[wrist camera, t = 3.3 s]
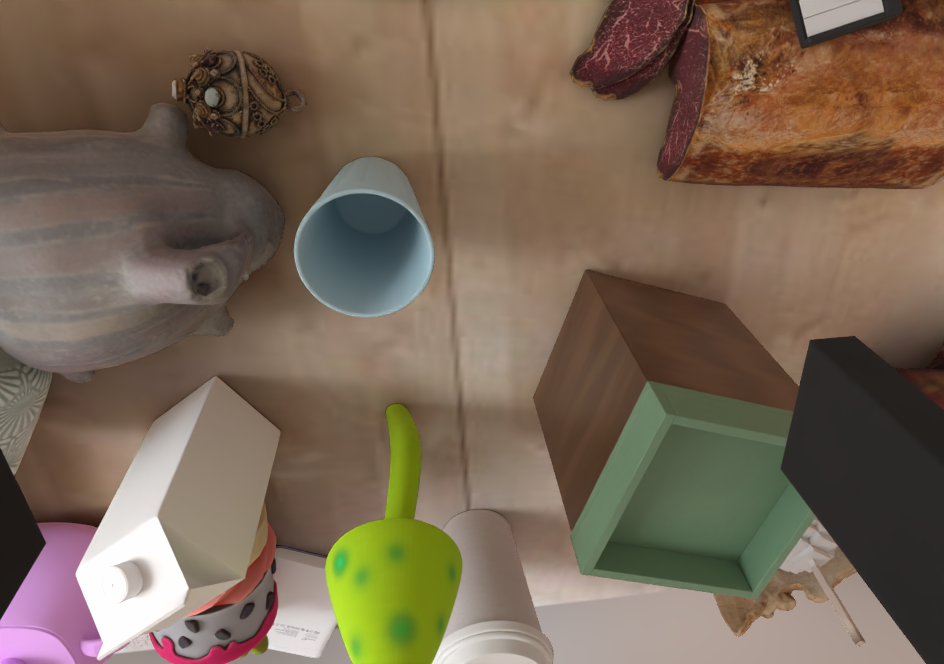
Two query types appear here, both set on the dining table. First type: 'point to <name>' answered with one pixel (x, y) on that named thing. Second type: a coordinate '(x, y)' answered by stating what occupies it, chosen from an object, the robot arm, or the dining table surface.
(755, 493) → the tray
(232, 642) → the cake
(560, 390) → the stand
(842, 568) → the figurine
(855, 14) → the midi keyboard
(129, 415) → the dining table surface
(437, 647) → the mushroom
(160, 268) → the piggy bank
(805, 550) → the decorative ornament
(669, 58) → the cured meat
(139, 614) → the milk carton
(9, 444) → the planter
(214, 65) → the pendant
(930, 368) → the anatomical model
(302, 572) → the hard drive
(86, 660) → the teapot
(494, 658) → the coffee cup
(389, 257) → the cup
